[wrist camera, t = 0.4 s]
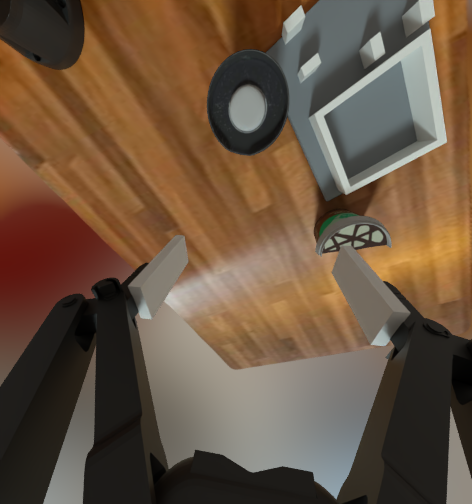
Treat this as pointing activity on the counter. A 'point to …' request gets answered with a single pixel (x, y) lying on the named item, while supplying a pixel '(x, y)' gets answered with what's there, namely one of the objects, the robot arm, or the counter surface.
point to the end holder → (422, 108)
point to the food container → (348, 232)
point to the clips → (373, 47)
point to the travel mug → (248, 102)
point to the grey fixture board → (349, 84)
